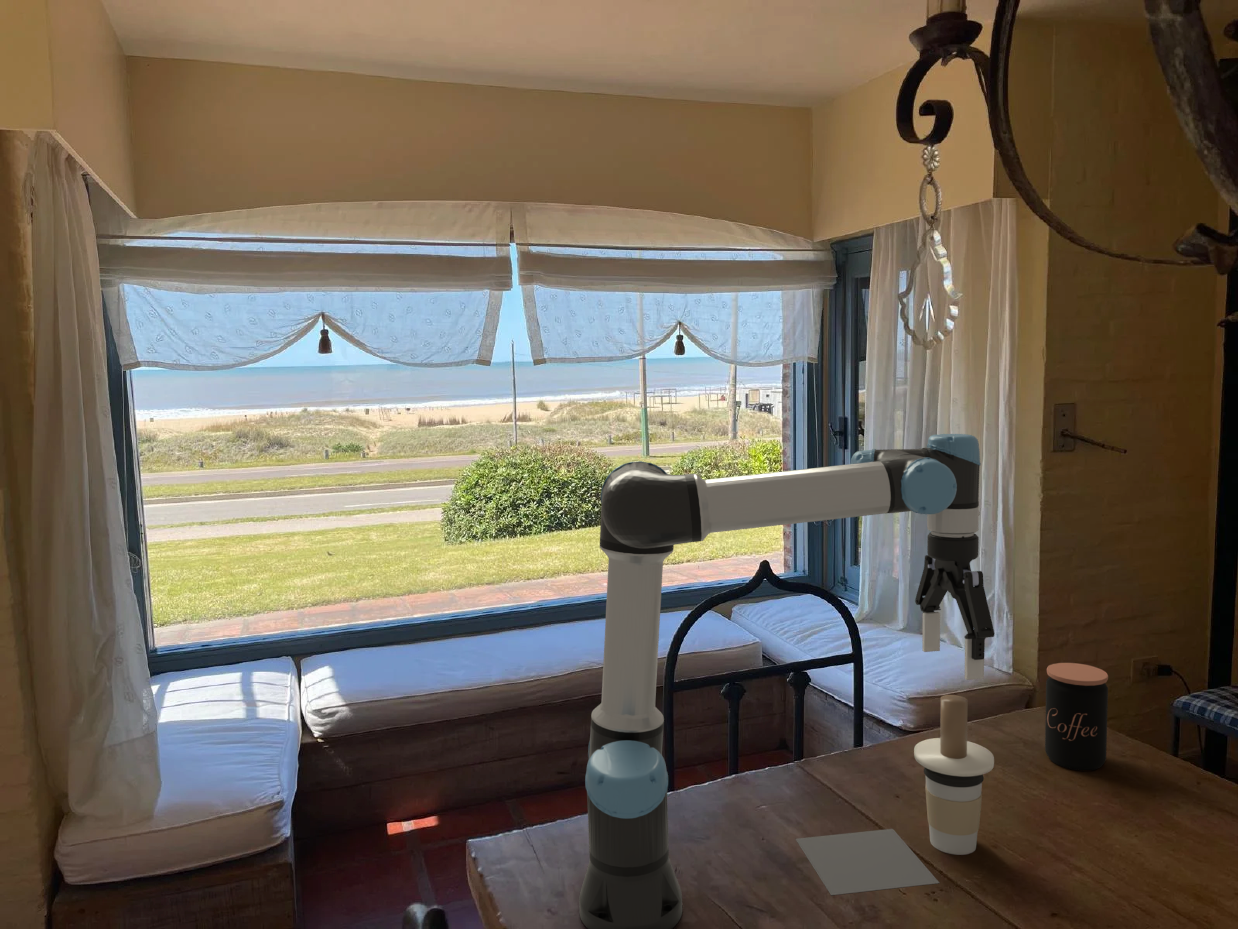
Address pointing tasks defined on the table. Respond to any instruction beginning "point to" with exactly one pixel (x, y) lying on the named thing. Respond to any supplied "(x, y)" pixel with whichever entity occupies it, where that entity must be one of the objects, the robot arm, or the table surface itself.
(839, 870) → the mat
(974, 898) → the table surface
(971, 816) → the coffee cup
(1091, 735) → the coffee jar
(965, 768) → the lid
